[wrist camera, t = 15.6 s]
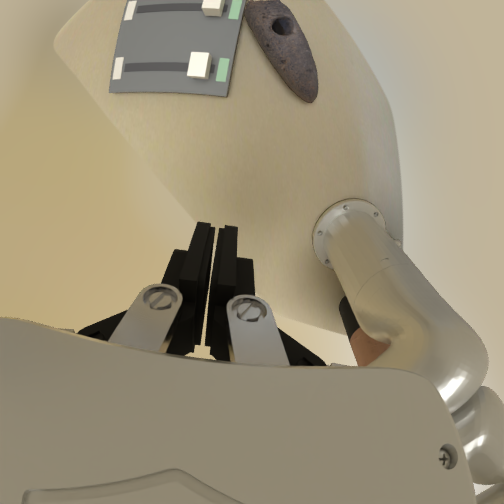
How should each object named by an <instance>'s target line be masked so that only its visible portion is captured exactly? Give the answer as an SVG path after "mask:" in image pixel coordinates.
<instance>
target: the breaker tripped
mask: <svg viewBox="0 0 504 504" xmlns="http://www.w3.org/2000/svg"><path fill="white" fill-rule="evenodd" d="M224 3H225V0H203V4H202V10H203V12H204V14H205V16H220V17H221V16H222V11H223V7H224Z"/></svg>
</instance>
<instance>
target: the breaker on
mask: <svg viewBox="0 0 504 504" xmlns="http://www.w3.org/2000/svg"><path fill="white" fill-rule="evenodd" d="M211 61H212V56H211V55H210V53H205V52H191V56H190V61H189V67H188V72H187V76H189V77H191V78H197V79H208V78H209V72H210V66H211Z"/></svg>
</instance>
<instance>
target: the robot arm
mask: <svg viewBox="0 0 504 504" xmlns="http://www.w3.org/2000/svg"><path fill="white" fill-rule="evenodd" d="M344 205H345V206H344ZM343 206H344V207H343ZM318 231H319V232H318ZM237 234H238V227H235V226H227V225H225V228H219V233H218V239H217V245H216V251H215V257H214V263H213V270H212V276H211V284H210V293H209V303H208V314H207V326H206V337H205V346H210V347H211V348H210V355H212V356H213V357H214V358H215V359H216V360H211V359H202V358H194V357H187V356H185V355H186V354H188V353H190V352H192V353H193V352H194V348H195V345H200V344H201V337H202V329H203V322H204V314H205V308H206V301H207V295H208V289H209V281H210V271H211V262H212V252H213V243H214V235H215V227H211V223H204V222H197V225H196V229H195V231H194V234H193V237H192V240H191V243H190V246H189V249H188V251H186V250H178V249H175V250H174V252H173V254H172V256H171V259H170V262H169V264H168V267H167V269H166V271H165V274H164V277H163V279H162V282H161V284H153V285H149V286H147V287H146V288H144V289H143V290H142V291H141V292H140V293H139V295H138V296H137V298H136V299H135V300H134V302H133V304H132V305H131V307H130V308H129V309H128V310H126V311H123V312H121V313H119V314H116V315H114V316H111V317H109V318H107V319H104V320H102V321H99V322H97V323H95V324H92V325H90V326H87V327H85V328H84V329H82V330H80V331H79V332H78V333H75V332H74V330H73V329H59V328H54V327H50V326H47V325H43V324H40V323H36V322H33V321H29V320H24V319H19V318H10V317H0V504H504V404H503V403H502V401H501V399H500V398H499V397H498V395H497V394H496V393H495V392H494V391H493V390H492V389H490V388H489V387H485V386H481V384H482V383H483V381H484V378H485V376H486V374H487V370H488V354H487V350H486V348H485V345H484V344H483V342H482V340H481V338H480V337H479V336H478V335H477V333H476V332H475V331H474V330H473V329H472V327H471V326H470V325H469V324H468V323H467V322H466V321H465V320H464V319H463V318H462V317H461V316H459V315H458V314H457V313H456V312H455V311H454V310H453V309H452V308H451V307H450V305H449V304H448V303H447V302H446V301H445V300H444V299H443V298H442V297H441V296H440V295H439V293H438V292H437V291H436V290H435V289H434V287H433V286H432V285H431V284H430V283H429V282H428V280H427V279H426V278H425V277H424V276H423V274H422V273H421V272H420V270H419V269H418V268H417V267H416V266H415V264H414V263H413V262H412V261H411V260H410V259H409V257H408V256H407V255H406V254H405V253H404V251H403V250H402V249H401V248H400V246H401V241H400V240H397V239H392V238H391V236H390V235H389V234H388V233H387V232H386V223H385V220H384V217H383V215H382V214H381V212H380V211H379V210H378V209H377V208H376V207H375V206H374V205H372V204H371V203H369V202H367V201H365V200H361V199H348V200H343V201H341V202H338V203H336V204H334V205H333V206H331V207H330V208H329V209H327V210H326V211H325V212H324V213H323V214H322V216H321V217H320V218H319V220H318V222H317V223H316V225H315V228H314V231H313V238H312V240H313V247H314V251H315V253H316V255H317V257H318V259H319V260H320V261H321V262H322V263H323V264H324V265H325V266H327V267H329V268H330V269H333V270H334V271H335V273H336V275H337V277H338V279H339V281H340V283H341V286H342V288H343V290H344V292H345V294H346V297H347V299H348V301H349V303H350V306H351V308H352V310H353V312H354V315H355V317H356V319H357V321H358V324H359V325H360V327H361V329H362V330H363V331H364V332H365V333H366V334H367V335H368V336H369V337H371V338H373V339H375V340H377V341H379V342H382V343H385V344H389V345H390V346H389V348H388V349H387V350H386V351H384V352H383V353H382V354H381V355H380V356H378V357H377V359H375V360H374V361H373V362H371V363H370V364H369V365H367V366H347V365H341V364H336V363H331V365H330V366H329V365H326V364H325V362H324V361H323V360H322V359H320V358H319V357H318V356H317V355H315V354H314V353H312V352H311V351H309V350H308V349H307V348H305V347H304V346H302V345H301V344H300V343H298V342H297V341H296V340H294V339H293V338H291V337H290V336H289V335H287V334H286V333H284V332H283V331H282V330H280V329H279V328H278V327H277V325H276V322H275V319H274V316H273V313H272V310H271V308H270V306H269V304H267V303H266V302H265V301H264V300H262V299H261V298H259V297H256V296H255V285H254V269H253V259H247V258H239V257H237ZM473 483H476V484H482V485H491V484H495V485H494V486H492V487H490V488H489V489H487V490H485V491H483V492H482V493H480V494H478V495H476V496H475V490H474V485H473Z"/></svg>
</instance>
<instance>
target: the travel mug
mask: <svg viewBox="0 0 504 504" xmlns="http://www.w3.org/2000/svg"><path fill="white" fill-rule="evenodd" d="M339 311H340V314H341V317H342V320H343V323H344V326H345V329H346V332H347V335H348V338H349V342H350V345H351V347H352V350H353V353H354V356H355V358H356V361H357V364H358V366H367V365H369V364H370V363H371V362H373V361H374V360H375V359H377V357H378V356H380V355H381V354H382V353H383V352H384V351H386V350H387V349H388V348H389V346H390V345H389V344H385V343H382V342H379V341H377V340H375V339H373V338H371V337H369V336H368V335H367V334H366V333H365V332H364V331H363V330H362V329H361V327H360V325H359V324H358V321H357V319H356V317H355V315H354V312H353V310H352V308H351V306H350V303H349V301H348V299H347V297H346V296H345V297H344V298H343V299H342V301H341V302H340V305H339Z"/></svg>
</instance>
